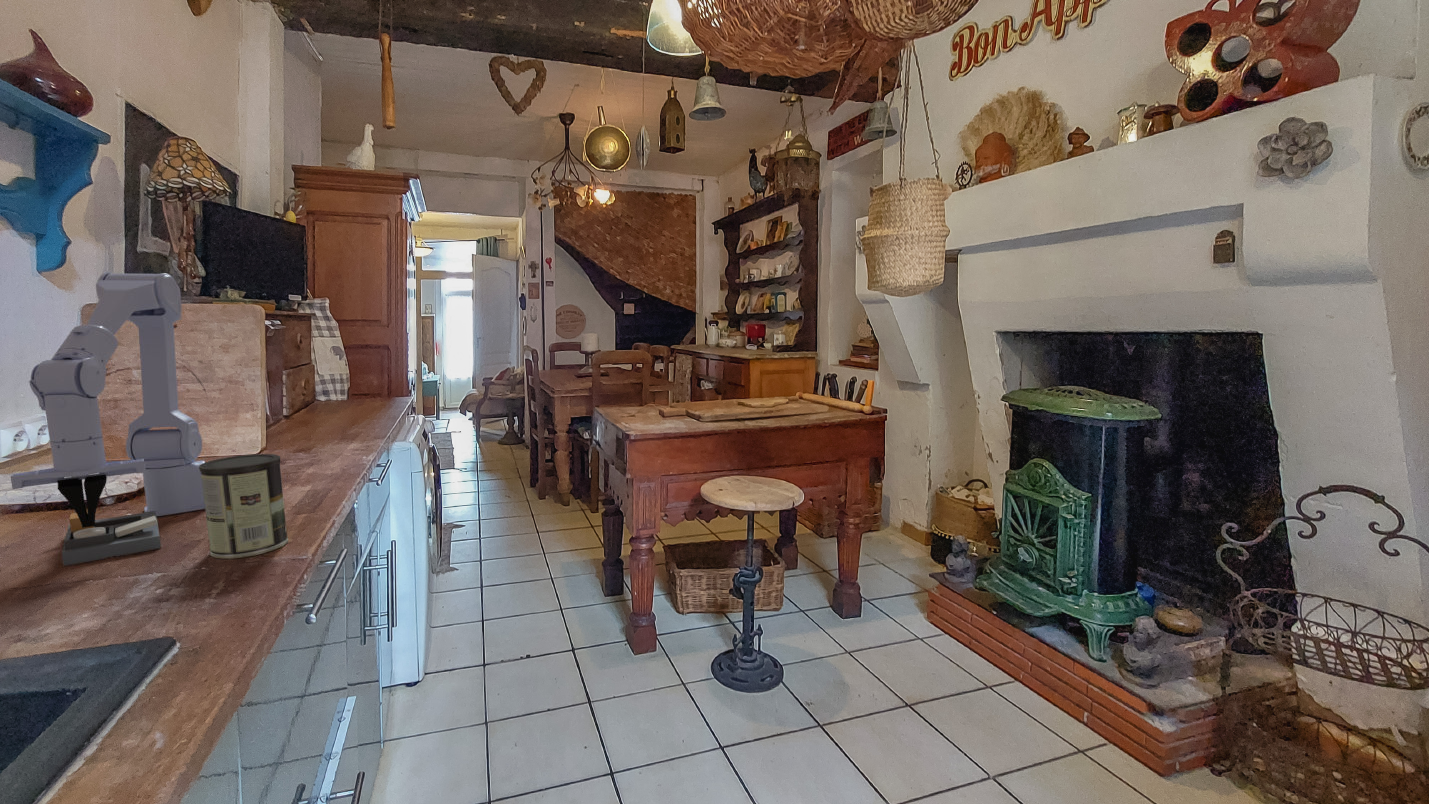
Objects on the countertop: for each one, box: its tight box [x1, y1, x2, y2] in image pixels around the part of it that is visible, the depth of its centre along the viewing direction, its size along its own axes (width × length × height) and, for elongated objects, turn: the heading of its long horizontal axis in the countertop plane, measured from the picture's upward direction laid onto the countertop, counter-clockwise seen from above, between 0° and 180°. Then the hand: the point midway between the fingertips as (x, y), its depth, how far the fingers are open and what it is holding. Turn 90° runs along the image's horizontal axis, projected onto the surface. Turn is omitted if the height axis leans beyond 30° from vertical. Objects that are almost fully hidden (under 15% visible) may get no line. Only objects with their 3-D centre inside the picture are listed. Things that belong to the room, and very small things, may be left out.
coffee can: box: [199, 453, 289, 560], centre depth 103 cm, size 10×10×14 cm
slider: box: [68, 511, 95, 532], centre depth 104 cm, size 2×4×3 cm, turn 42°
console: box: [61, 511, 162, 567], centre depth 106 cm, size 11×18×3 cm, turn 42°
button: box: [73, 527, 106, 539], centre depth 100 cm, size 4×4×2 cm
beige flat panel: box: [115, 516, 158, 537], centre depth 104 cm, size 5×3×1 cm, turn 131°
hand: (88, 525), depth 100 cm, fingers closed
